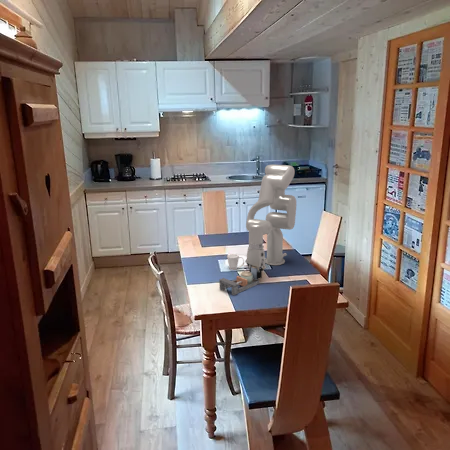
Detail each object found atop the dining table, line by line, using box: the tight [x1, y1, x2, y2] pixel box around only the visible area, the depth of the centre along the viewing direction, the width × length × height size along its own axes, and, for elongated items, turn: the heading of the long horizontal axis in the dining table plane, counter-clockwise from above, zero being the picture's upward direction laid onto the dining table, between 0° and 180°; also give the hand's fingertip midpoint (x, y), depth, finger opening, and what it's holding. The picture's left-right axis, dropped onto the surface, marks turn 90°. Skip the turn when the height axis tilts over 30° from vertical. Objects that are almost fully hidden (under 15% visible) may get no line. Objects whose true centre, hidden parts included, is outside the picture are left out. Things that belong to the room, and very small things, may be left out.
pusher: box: [228, 275, 247, 289], centre depth 222 cm, size 10×7×4 cm
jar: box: [251, 265, 261, 281], centre depth 231 cm, size 5×5×7 cm
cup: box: [226, 253, 245, 271], centre depth 249 cm, size 7×10×8 cm
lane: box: [219, 277, 260, 296], centre depth 224 cm, size 20×11×6 cm, turn 134°
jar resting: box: [240, 271, 254, 284], centre depth 227 cm, size 6×6×6 cm
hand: (255, 276), depth 232 cm, fingers closed on jar, 5 cm apart
